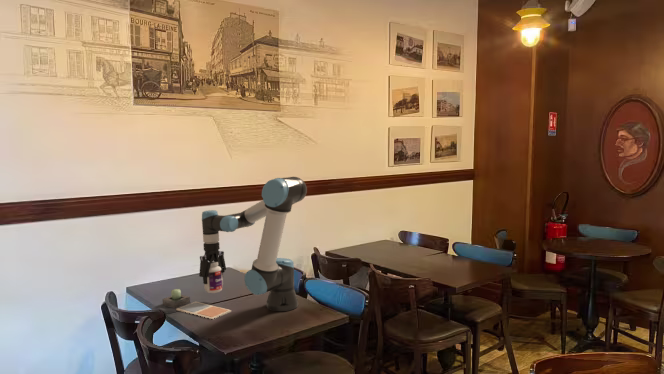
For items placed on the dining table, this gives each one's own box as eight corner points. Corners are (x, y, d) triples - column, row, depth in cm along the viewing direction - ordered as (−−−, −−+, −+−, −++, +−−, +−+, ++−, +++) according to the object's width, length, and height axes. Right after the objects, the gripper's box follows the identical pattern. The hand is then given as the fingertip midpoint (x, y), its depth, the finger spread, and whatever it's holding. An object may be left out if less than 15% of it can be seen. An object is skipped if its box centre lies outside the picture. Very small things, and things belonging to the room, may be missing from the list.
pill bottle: (218, 294, 229) (216, 264, 228) (202, 293, 231) (201, 264, 230) (225, 289, 237) (223, 260, 236) (210, 288, 239) (208, 260, 238)
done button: (182, 297, 234) (182, 289, 233) (175, 300, 230) (175, 292, 230) (176, 296, 236) (176, 288, 236) (169, 298, 232) (169, 290, 232)
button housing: (190, 302, 235) (189, 296, 234) (175, 308, 227) (174, 302, 227) (177, 299, 240) (177, 293, 239) (162, 305, 232) (162, 299, 232)
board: (231, 311, 222) (231, 309, 222) (212, 319, 212) (212, 318, 212) (195, 302, 235) (195, 301, 235) (176, 310, 225) (176, 308, 224)
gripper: (221, 237, 243) (223, 281, 245) (189, 245, 225) (192, 292, 227) (232, 238, 239) (234, 283, 241) (200, 246, 221) (203, 294, 223)
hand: (213, 287), depth 234 cm, fingers closed on pill bottle, 8 cm apart
